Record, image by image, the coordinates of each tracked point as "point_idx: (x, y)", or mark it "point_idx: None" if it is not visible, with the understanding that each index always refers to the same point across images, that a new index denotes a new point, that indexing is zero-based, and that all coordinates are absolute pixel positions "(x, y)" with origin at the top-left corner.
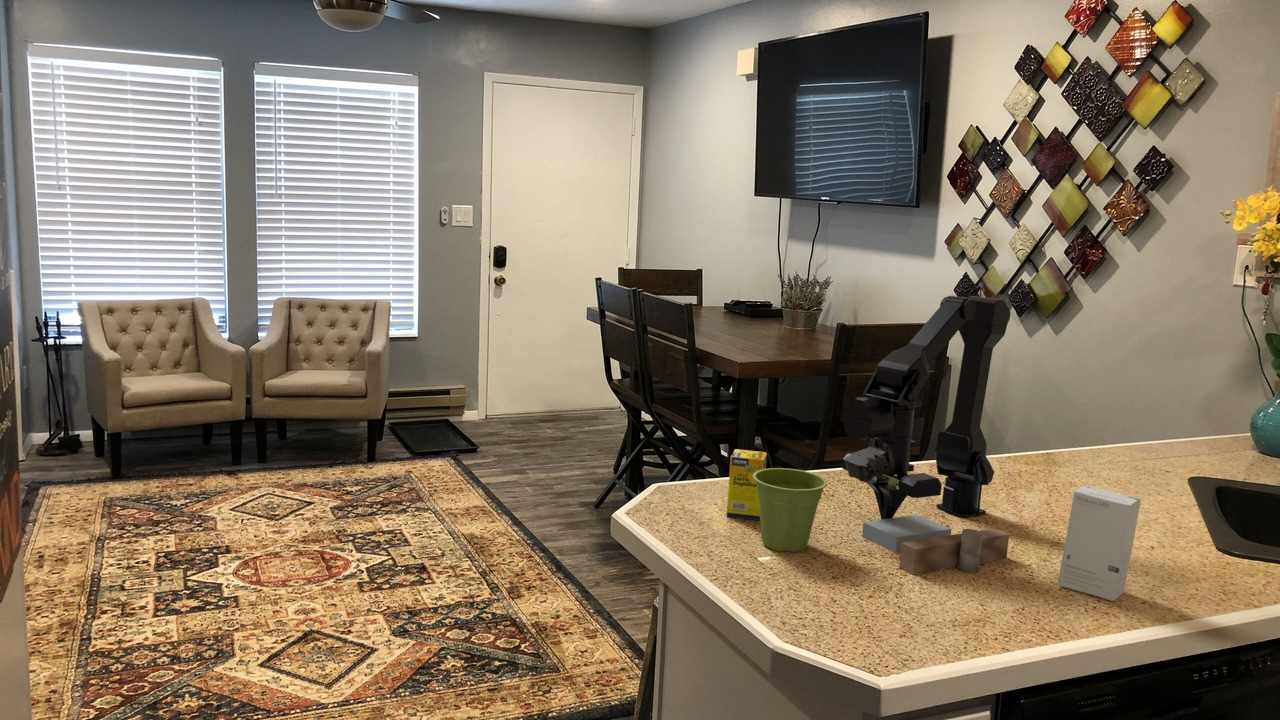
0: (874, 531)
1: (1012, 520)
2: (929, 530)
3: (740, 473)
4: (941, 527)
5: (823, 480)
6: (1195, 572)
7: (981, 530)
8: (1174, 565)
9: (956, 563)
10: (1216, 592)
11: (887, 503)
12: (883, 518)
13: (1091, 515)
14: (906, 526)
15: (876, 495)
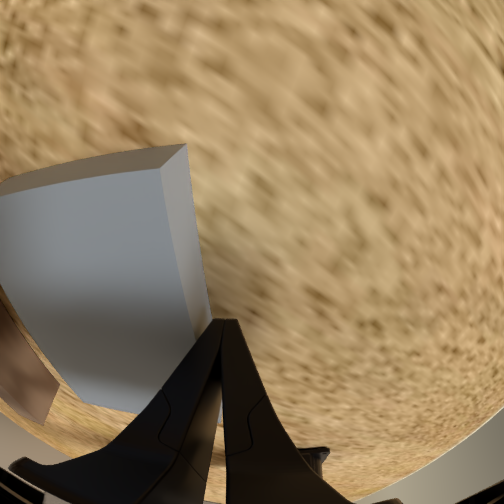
0: (73, 173)
1: (221, 467)
2: (56, 359)
3: None
4: (90, 396)
5: None
6: (53, 440)
7: (19, 404)
8: (66, 445)
9: None
10: (11, 415)
11: (151, 406)
12: (219, 331)
13: None
14: (83, 333)
15: (271, 436)
